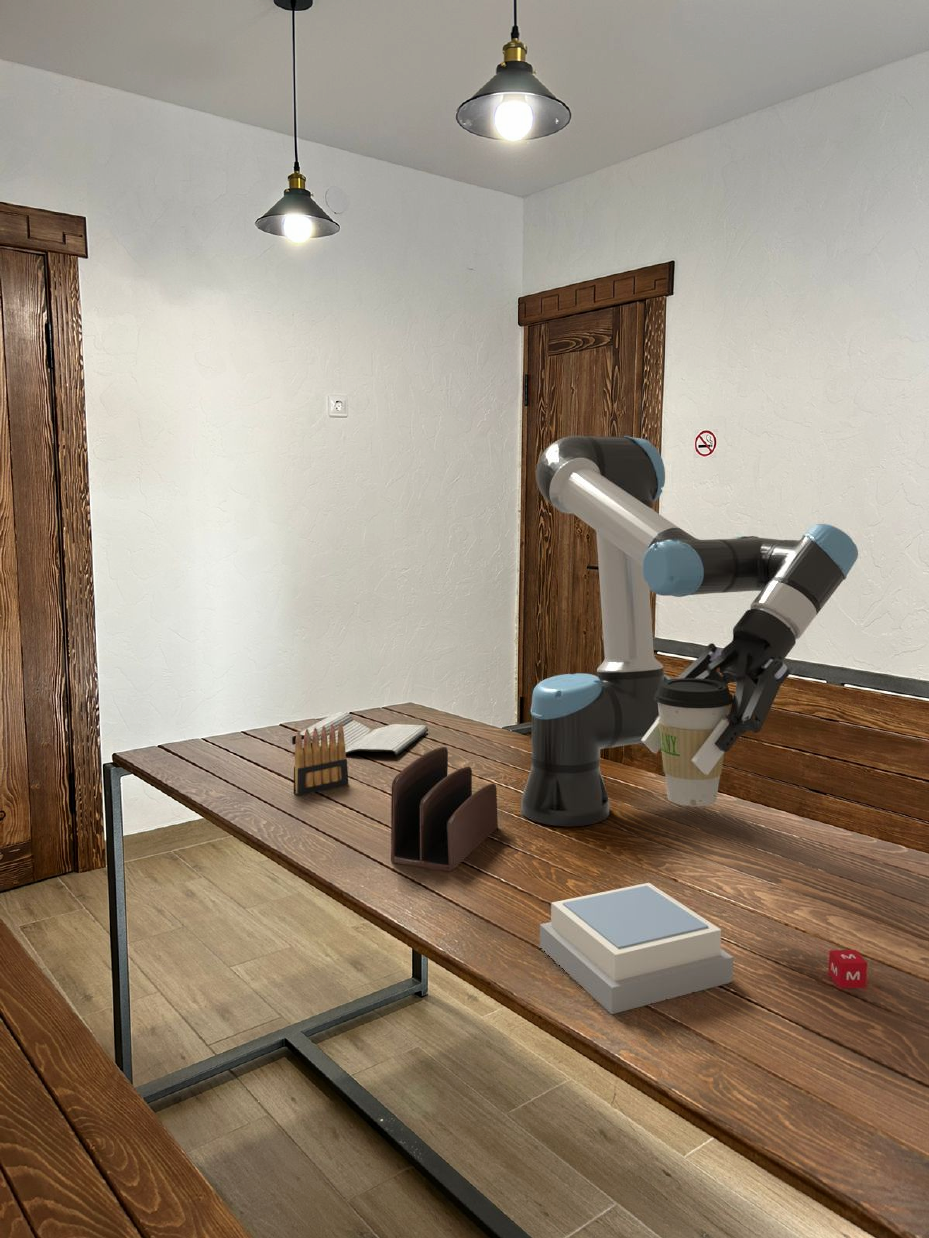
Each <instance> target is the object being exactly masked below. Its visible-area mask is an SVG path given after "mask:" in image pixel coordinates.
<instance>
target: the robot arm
mask: <svg viewBox="0 0 929 1238" xmlns="http://www.w3.org/2000/svg"><path fill="white" fill-rule="evenodd" d="M535 477H536V480H535V481H536V484H537V487H538V490H539V492H540V494H541V495H542V496H543V498H544V500H545V501H547V502H548V503H549V504H550V505H551V506H552V507H553V508H555V509H556V510H558V511H559V512H561V513H563V514H568V515H569V514H571V515H572V514H573V515H574V516H576V517H577V518H578V519H579V520H581V521H582V522H583V523H585V524H586V525H588V526H589V527H590V528H592V529H593V530H595V532H596V545H597V559H598V574H599V588H600V590H599V591H600V609H601V620H602V621H601V623H602V634H603V635H602V639H603V651H604V652H603V653H604V660H603V661H602V662H601V664H600V665H599V666H598V667H597V669H596V675H594V674H591V673H583V672H582V673H579V672H578V673H567V674H557V675H554V676H551V677H548V678H545V679H543V680H542V681H540V682H538V683H537V684H536V686H535V687H534V688H533V691H532V696H531V697H532V698H531V705H530V715H531V768H530V771H529V774H528V777H527V781H526V784H525V787H524V790H523V793H522V795H521V802H520V803H521V810H520V811H521V814H522V815H523V816H524V817H525V818H527V819H529V820H530V821H533V822H536V823H538V824H544V825H549V826H554V827H555V826H557V827H583V826H589V825H594V824H598V823H600V822H603V821H605V820H606V819H607V818H608V817H609V816H610V798H609V795H608V791H607V789H606V786H605V783H604V779H603V776H602V772H601V767H600V765H601V764H600V759H601V750H603V749H609V748H616V747H623V746H629V745H636V744H637V745H638V744H642V745H645V746H646V747H647V748H648V750H650V751H651V752H652V753H653V754H657V753H658V752H659V751H660V750H661V741H660V732H659V722H658V720H659V709H658V702H657V701H655V700H654V696H655V693H656V692H657V691H658V688H659V685H660V683H661V682H662V681H665V680H670V679H671V677H669V676H667V675H666V674H665V672H664V671H665V670H664V665H663V664H662V663H661V662H660V661H659V660H657V659H656V657H655V655H654V651H655V650H654V639H653V625H652V624H653V623H652V622H653V621H652V608H651V592H653V594H655V595H657V596H663V597H664V596H666V597H667V596H669V597H670V596H672V597H676V598H682V597H686V596H696V595H708V594H710V595H711V594H724V593H739V592H741V593H743V592H759V593H758V595H757V596H756V597H755V598H754V600H753V601H752V603H750V607H749V608H750V609H747V610H746V611H745V612H744V613H743V615H742V616H741V618H740V619H739V620H738V621H737V623H736V624H735V625H734V626H733V629H732V641H731V642H729V644H727V645H726V646H724V647H723V648H722V647H717V646H716V645H715V644H714V642H712V643H709V644H708V645H706V647H705V649H704V650H703V651H702V653H701V655H699V656H698V658H696V659H695V660H694V661H693V662H692V663H691V664H690V665H689V666H688V667H687V668H686V669H685V670H683V672H681V674H679V675H678V676H677V677H676V678H675V679H678V678H700V679H710V680H716V681H720V682H723V683H726V684H727V685H729V683H736V686H735V690H734V694H733V703H732V704H731V708H730V711H729V714H728V716H727V715H726V718H727V719H728V721H726V720H723V719H722V720H721V721H720V723H719V724H718V725H717V727H716V728H715V729H714V731H713V732H712V733H711V735H710V736H709V737H708V739H707V740H706V741H705V743H704V744H703V745H702V747H701V748H700V749H699V751H698V752H697V753H696V755H695V756H694V757H693V759H692V760H691V761H692V762H693V763H694V764H695V765H696V766H697V767H698V768H699V769H700V770H701V771H702V772H703V773H704V774H706V775H708V774H709V772H710V771H711V770H712V768H713V767H714V766H715V764H716V763H717V762H718V760H719V759H720V758H721V756H722V755H723V754H724V755H725V753H727V752H728V751H730V749H731V748H732V747H733V746H734V744H735V743H736V741H737V740H738V739H739V737H740V736H741V735H742V734H743V735H744V734H746V733H747V732H753V734H757V733H759V732H760V731H761V730H762V728H763V726H764V724H765V721H766V719H767V717H768V715H769V713H770V710H771V709H772V705H773V703H774V701H775V699H776V697H777V694H778V692H779V690H780V688H781V685H782V684H784V682H785V681H786V680H787V678H788V677H789V676H790V674H791V670H790V669H789V668H788V667H787V665H786V664H785V663H784V662H783V661H784V660H785V658H786V657H787V656H788V654H789V653H790V652H791V651H792V649H793V648H794V647H795V646H796V640H799V639H800V638H801V637H802V635H803V634H804V633H805V632H806V630H807V628H809V626H810V624H812V622H813V620H814V619H815V618H816V617H817V616H818V614H819V613H820V612H821V610H822V609H823V607H824V606H825V605H826V604H827V602H828V600H830V598H831V597H832V595H833V594H834V593H835V592H836V591H837V589H838V588H839V586H840V585H841V584H842V582H843V581H845V580H846V579H847V578H848V577H847V576H848V575H849V573H850V571H851V569H852V568H853V566H854V565H855V563H856V561H857V560H858V558H859V549H858V547H857V545H856V544H855V542H854V541H853V539H852V537H850V536H849V535H848V534H847V533H846V532H845V531H843V530H842V529H840V528H838V527H836V526H834V525H832V524H827V523H817V524H814V525H812V526H810V528H809V529H808V530H807V531H806V532H805V533H804V534H802V537H801V539H799V540H798V539H775V538H766V537H759V536H756V535H755V536H754V535H750V536H747V535H746V536H744V535H743V536H735V537H732V538H724V539H722V538H721V539H720V538H719V539H714V538H713V539H699V538H696V537H695V536H693V535H691V534H690V533H689V532H686V531H685V530H684V529H682V528H680V527H679V526H677V525H675V523H673V522H671V521H670V520H668V519H667V518H666V517H664V516H663V515H661V514H660V513H658V512H657V511H655V510H654V505H653V503H654V502H656V501H657V500H658V499H659V498H660V497H661V495H662V493H663V490H662V488H664V487H665V484H666V469H665V465H664V461H663V458H662V455H661V454H660V451H659V450H658V448H656V447H655V446H654V445H653V444H652V442H650V441H649V440H647V439H645V438H641V437H639V438H638V437H632V436H628V435H623V436H622V435H621V436H616V435H615V436H609V435H608V436H607V435H606V436H603V435H601V436H600V435H598V436H597V435H596V436H595V435H593V436H592V435H591V436H590V435H587V436H586V435H569V436H566V437H562V438H559V439H558V440H556V441H554V442H553V443H551V444H550V445H549V446H548V447H546V448H545V450H544V451H543V453H542V454H541V456H540V457H539V459H538V463H537V466H536V470H535ZM650 591H651V592H650ZM718 669H719V671H718Z"/></svg>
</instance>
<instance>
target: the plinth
mask: <svg viewBox="0 0 929 1238" xmlns="http://www.w3.org/2000/svg"><path fill="white" fill-rule="evenodd" d="M550 918H551V919H550V921H549V922H544V923H540V924H539V948H542V949H541V951H542V952H544V951H545V952H544V954H546V955H547V956H548V955H549V956H550V957H549V956H548V957H549V958H550V959H551V958H552V959H553V960H554V961H555V962H554V961H553V960H552V959H551V960H552V961H553V962H554V963H556V965H557V966H559V965H560V966H559V967H560V968H561V969H562V968H563V969H564V970H565V971H564V970H563V969H562V970H563V971H564V972H565V973H566V972H567V973H568V974H569V976H570V978H571V979H572V980H574V981H575V980H576V981H575V982H576V983H577V982H578V983H577V984H578V985H579V986H580V985H581V986H582V987H583V988H582V987H581V986H580V987H581V988H582V989H583V990H585V991H586V992H587V993H588V994H589V995H590V996H591V997H592V998H593V999H595V1001H596V1002H597V1003H598V1004H600V1005H601V1006H602V1007H603V1008H604V1010H606V1011H607V1012H608V1013H609V1014H610V1015H614V1014H619V1013H622V1012H626V1011H629V1010H633V1009H636V1008H641V1007H644V1006H649V1005H651V1003H652V1004H655V1003H660V1002H663V1001H667V1000H670V999H674V998H677V997H678V996H679V997H681V996H682V997H683V996H685V995H689V994H693V993H692V992H694V993H696V992H700V991H701V992H702V991H704V990H708V989H713V988H717V987H720V986H723V984H724V985H726V984H730V982H731V983H733V981H734V980H733V978H734V977H733V976H734V971H733V970H734V956H732V955H731V954H730V953H728V952H726V951H725V950H724V949H723V948H722V929H721V928H719V927H718V926H716V925H715V924H713V923H712V922H710V921H708V920H707V919H706V918H704V917H702V916H701V915H699V914H698V913H697V912H695V911H693V910H691V908H689V907H687V906H686V905H684V904H682V903H681V902H680V901H678V900H676V898H673V896H671V895H669V894H667V893H666V892H664V891H662V890H661V889H659V888H657V886H655V885H653V884H652V883H650V882H646V883H641V884H637V885H631V886H626V887H621V888H616V889H612V890H607V891H602V892H597V893H593V894H592V893H591V894H587V895H583V896H578V897H577V896H576V897H573V898H568V899H563V900H559V901H552V902H551V904H550ZM567 973H566V974H567ZM568 974H567V975H568ZM666 999H667V1000H666Z"/></svg>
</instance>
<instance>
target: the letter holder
mask: <svg viewBox="0 0 929 1238" xmlns="http://www.w3.org/2000/svg"><path fill="white" fill-rule="evenodd" d="M448 760H449V751H448V748H447V747H446V746H440V747H436V748H434V749H432V750H430V751H428V752H426V753H424V754H422V755H421V756H419V757H418V758H417V759H415V760H413V761H412V762H411V763H410V764H408V765H406V766H405V768H404V769H402V770H401V771H400V772H399V773H398V774H397V775H395V776H394V778H393V780H392V783H391V797H390V799H391V801H390V803H391V806H390V817H391V818H390V820H391V821H390V822H391V823H390V830H391V831H390V841H391V842H390V843H391V845H390V848H391V849H390V861H391V863H394V864H398V865H404V866H410V867H416V868H421V869H429V870H434V871H435V870H436V871H439V872H440V871H441V872H448V873H452V871H453V870H455V869H456V867H458V866H459V865H460V864H461V863H462V862H463V861H464V860H465V859H466V858H467V857H469V855H470V854H472V853H473V852H474V851H475V850H476V849H477V848H478V847H479V846H480V845H481V844H483V843H484V841H485V840H486V839H487V838H489V836H490V835H491V834H493V833H494V832H495V831H496V830H497V828H499V823H498V820H499V819H498V799H497V797H498V795H497V793H498V791H497V790H498V789H497V785H496V784H495V783H489V784H487V785H485V786H483V787H482V788H479V789H478V790H477V791H475V792H474V793H473V791H472V790H473V770H472V767H471V766H469V765H468V766H466V767H465V766H464V767H462V768H461V767H460V768H459V769H456V770H454V771H453V772H451V773H449V774H448V771H449V770H448V767H449V766H448V765H449V764H448V763H449V761H448Z"/></svg>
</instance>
